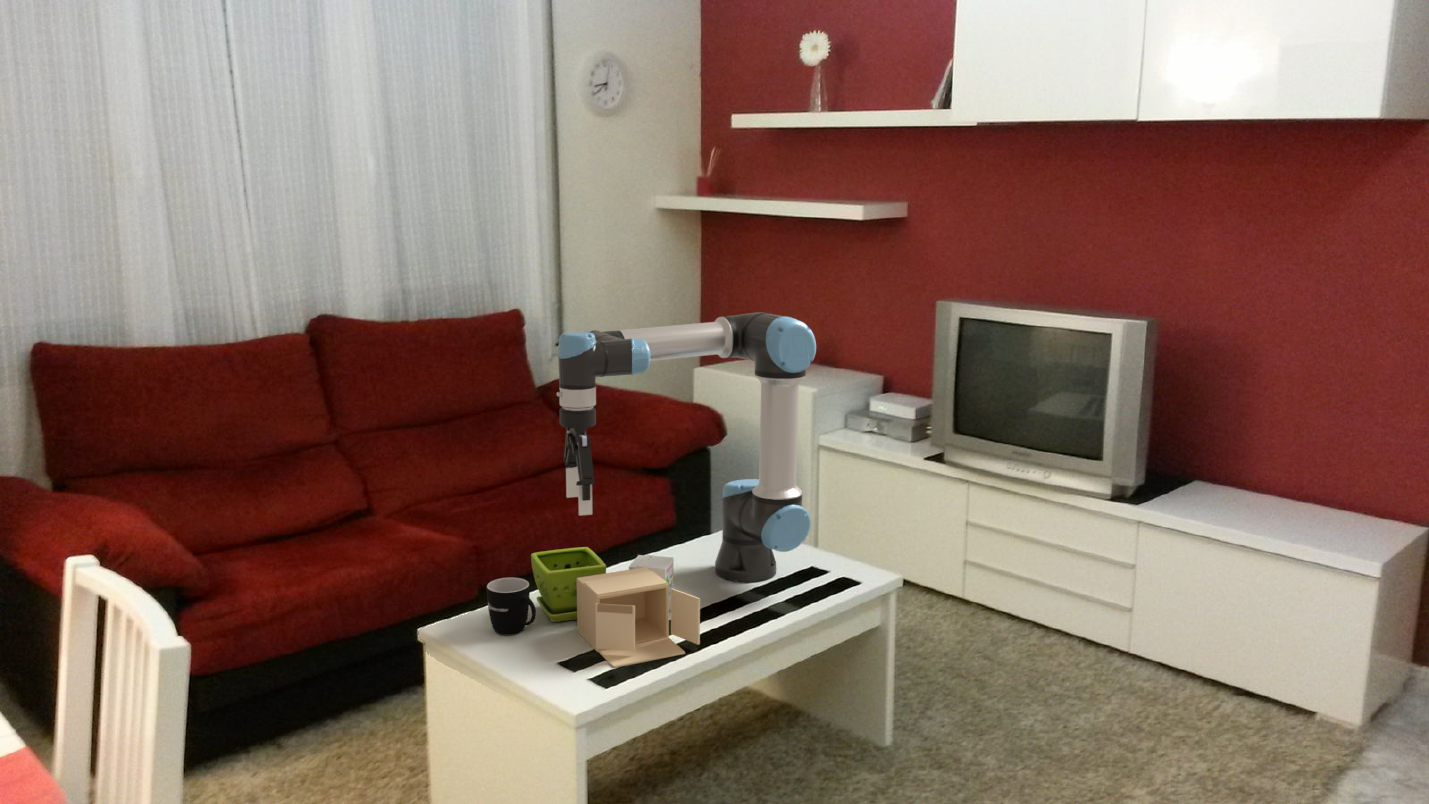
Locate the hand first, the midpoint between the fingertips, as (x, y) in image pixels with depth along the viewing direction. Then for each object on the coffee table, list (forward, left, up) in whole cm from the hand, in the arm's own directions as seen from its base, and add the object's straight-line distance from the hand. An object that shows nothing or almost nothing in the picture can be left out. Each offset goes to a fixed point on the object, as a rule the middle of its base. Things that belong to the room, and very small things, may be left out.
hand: (579, 505), depth 238 cm
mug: (+13, -4, -27) cm, 31 cm away
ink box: (-18, -2, -28) cm, 33 cm away
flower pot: (-1, -9, -28) cm, 29 cm away
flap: (-1, +17, -26) cm, 31 cm away
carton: (-8, +12, -27) cm, 31 cm away
